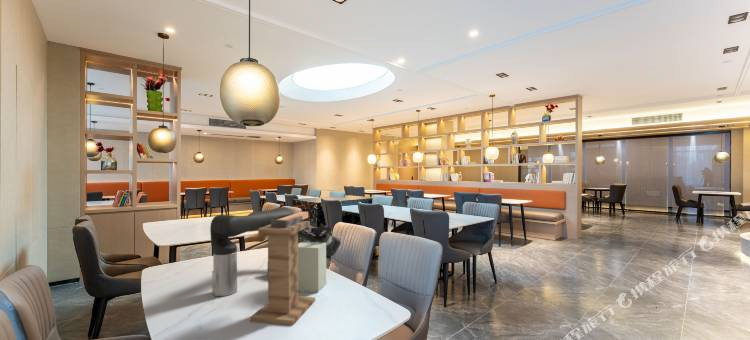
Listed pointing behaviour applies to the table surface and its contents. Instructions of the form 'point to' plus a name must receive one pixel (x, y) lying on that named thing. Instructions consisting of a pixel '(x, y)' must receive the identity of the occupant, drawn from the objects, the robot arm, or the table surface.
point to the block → (303, 214)
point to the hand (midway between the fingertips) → (311, 225)
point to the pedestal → (311, 266)
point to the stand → (283, 274)
